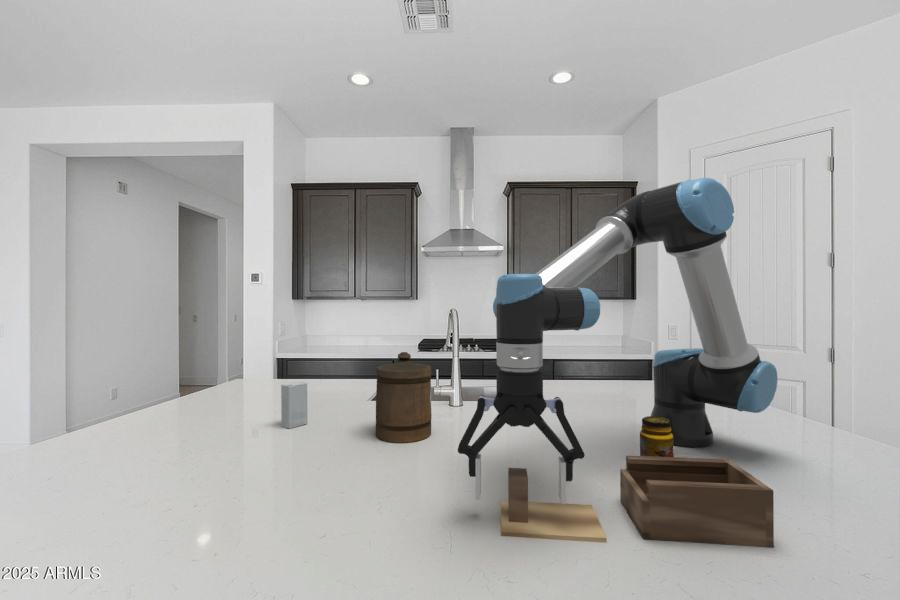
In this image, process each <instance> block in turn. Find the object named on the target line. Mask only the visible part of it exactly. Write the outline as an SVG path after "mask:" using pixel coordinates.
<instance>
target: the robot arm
mask: <svg viewBox="0 0 900 600" xmlns="http://www.w3.org/2000/svg"><path fill="white" fill-rule="evenodd" d="M734 213H735V208H734V204H733V200H732V197H731V194H730V193H729V191H728V190H727V188H726V187H725V186H724V185H723V184H722V183H721V182H719V181H717V180H716V179H715V178H711V177H700V178H694V179H686V180H683V181H680V182H677V183H674V184H673V183H672V184H669V185H666V186H663V187H659V188H656V189H652V190H648V191H647V190H646V191H644V192H640V193H639V194H637V195H634V196H632V197H631V198H629V199H628V200H626V201H625V202H623V203H622V204H619V205H618V206H617V207H616V208H614V209H612V210H611V211H610V212H609V213H607V214H606V215H604V216H603V217H602V218H600V219H599V220H598V221H597V223H596V225H595V228H594V229H593V230H592V231H590V232H589V233H587V234H586V235H585V236H583V238H581V239H580V240H578V241H577V242H576V243H574V244H573V245H572V246H571V247H569V248H568V249H567V250H565V251H564V252H563V253H561V254H560V255H558V256H557V257H556V258H554V259H553V260H552V261H551V262H549V263H548V264H547V265H546V266H544V267H542V268H541V269H539V271H537V272H536V273H511V274H510V273H509V274H502V275H500V276H499V277H498V279H497V281H496V290H495V291H496V293H495V294H496V295H495V297H494V300H493V302H492V303H493V304H492V311H493V314H494V317H495V319H496V321H495V323H496V325H495V326H496V329H495V330H496V342H495V343H496V345H495V346H496V350H495V351H496V365H497V367H499V368H498V369H497V370H496V395H495V397H494V398H491V397H486V396H485V395H483V394H481V395H479V396H478V399H477V403H476V410H475V412H474V413H473V415H472V417H471V420H470V421H469V424H468V426H467V428H466V429H465V432H464V433H463V436H462V437H461V440H460V442H459V444H458V447H457V453H458V454H460V455H465V456H466V457H467V458H468V475H469V477H470V478H471V477H472V478H475V500H481V495H482V454H481V453H480V452H482V450H483V449H484V448H485V447H486V445H487V444H488V443H489V442H490V441H491V439H492V438H493V437H494V436H495V435H496V434H497V433H498V432H499V431H500V430H501V429H502V428H503V426H504V425H506V424H507V425H508V426H510V427H518V426H520V427H523V428H530V426H533V425H535V426H536V427H537V429H538V430H539V431H540V432H541V433H542V434H543V435H544V436H545V438H546V439H547V440H548V441H549V442H550V443H551V445H552V447H554V448H555V450H557V452H558V453H559V454H560V455H561V456H558V499H559V501H560V503H561V504H567V482H572V481H573V479H574V478H573V477H574V476H573V473H574V472H573V469H574V467H573V465H574V462H575V460H578V459H580V460H582V459H584V458H585V456H586V454H585V452H584V450H583V448H582V446H581V445H580V442H579V440H578V438H577V436H576V435H575V432H574V430H573V428H572V426H571V424H570V422H569V421H568V418H567V416H566V414H565V408H564V403H563V400H562V399H561V398H560V397H558V396H555V397H554V398H552V399H545V398H544V372H543V371H542V370H541V369H540V368H542V367H543V366H544V364H543V363H544V361H543V357H544V356H543V352H544V351H543V346H544V345H543V342H544V332H547V331H580V330H587V329H589V328H592V327H593V326H594V325H596V323H597V322H598V321H599V319H600V316H601V301H600V299H599V297H598V296H597V294H596V293H595V292H594V291H593V290H591V289H590V288H587V287H586V288H585V287H579V285H580V284H582V283H583V282H584V281H585V280H586V279H588V278H589V277H590V276H591V275H593V274H594V273H595V272H596V271H598V270H599V269H600V268H601V267H602V266H604V265H605V264H606V263H608V262H609V261H610V260H612V258H615V256H616V255H622V254H625V253H628V251H630V250H631V249H632V248H634V247H637V246H641V245H645V244H648V243H659V242H662V243H663V246H664V250H665V252H666V254H668V255H671V256H673V257H675V260H676V262H677V266H678V269H679V273H680V275H681V279H682V282H683V287H684V289H685V292H686V296H687V299H688V302H689V306H690V310H691V312H692V317H693V319H694V322H695V327H696V330H697V333H698V336H699V339H700V343H701V346H702V348H678V349H677V348H673V349H662V350H658V351H656V353H655V354H654V358H653V359H654V360H653V362H654V363H653V384H654V385H653V387H654V388H653V389H654V390H653V391H654V393H653V397H654V400H653V409H652V411H651V414H650V416H655V417H662V418H666V419H668V420H669V421H670V422H671V434H672V435H673V446H680V447H688V448H690V447H691V448H701V447H702V448H703V447H708V446H712V445H713V444H714V431H713V430H712V429H713V428H712V426H711V424H710V421H709V418H708V415H707V413H706V404H708V405H712V406H718V407H722V408H727V409H732V410H735V411H736V410H737V411H738V412H746V413H753V414H755V413H757V414H759V413H761V412H764V411H765V410H766V409H768V407H769V406H770V405H771V403H772V401H773V400H774V398H775V393H776V392H777V387H778V371H777V368H776V366H775V365H774V364H773V363H771V362H770V361H767V360H761V357H760V353H759V350H758V349H757V347H755V345H752V344H751V343H748V340H747V338H746V334H745V330H744V327H743V323H742V319H741V315H740V312H739V309H738V304H737V301H736V296H735V294H734V290H733V285H732V283H731V279H730V275H729V274H730V273H729V271H728V268H727V263H726V260H725V256H724V253H723V250H722V244H723V243H724V241H725V240H726V239H727V237H728V236H727V235H728V234H727V231H728V230H729V229H730V228H731V226H732V225H733V223H734V219H735V216H734V215H733V214H734ZM490 407H491V408H492V407H493V408H494V409H495V410H496V412H497V413H498V414H497V415H496V416H495V417H494V419H493V420H492V422H491V423H490V424H489V425H488V426H487V427H486V429H485V430H483V432H481V434H480V435H479V437H478V438H477V439H476V440H475V441H474V442H473V443H472V445H469V444H470V442H471V440H472V438H473V436H474V434H475V433H476V430H477V428H478V427H479V424H480V423H481V420H482V418H483V416H484V413H485V412H488V411H489V410H490ZM547 408H548V409H549V410H550V411H551V413H552V414H555V415H556V417H557V419H558V421H559V423H560V425H561V427H562V429H563V431H564V433H565V435H566V437H567V439H568V441H569V442H570V444H571V446H572V448H571V449H569V448H568V447H567V446H566V445H565V443H564V442H563V441H562V440H561V439H560V438H559V436H558V435H557V433H555V432H554V430H552V428H551V427H550V426H549V425H548V424H547V422H546V421H545V420H544V418H543V417H542V414H543V412H544V411H545V410H546V409H547Z"/></svg>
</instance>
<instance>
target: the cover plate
mask: <svg viewBox="0 0 900 600" xmlns="http://www.w3.org/2000/svg"><path fill="white" fill-rule="evenodd" d="M507 469H508V470H507V473H508V475H507V476H508V477H507V478H508V480H507V482H508V483H507V485H508V487H507V489H508V493H507V494H508V495H507V496H508V498H507V500H503V499H502V500H501V501H500V504H501V505H500V507H501V508H500V509H501V510H500V513H501V515H500V517H501V518H500V520H501V521H500V523H501V524H500V525H501V526H500V527H501V533H500V534H501V537H511V538H513V537H514V538H525V539H526V538H529V539H545V540H560V541H561V540H562V541H574V542H575V541H576V542H594V543H605V544H606V543H607V542H608V541H607V539H608V538H607V536H606V533H605V531H604V529H603V527H602V525H601V523H600V520H599V518H598V516H597V514H596V511H595V509H594V507H593V505H592V504H582V503H581V504H580V503H566V504H561V502H560V503H559V502H538V501H529V477H528V471H527V468H526V467H524V468H521V467H507Z"/></svg>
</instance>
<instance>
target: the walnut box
mask: <svg viewBox="0 0 900 600" xmlns="http://www.w3.org/2000/svg"><path fill="white" fill-rule="evenodd" d="M619 473H620V475H619V476H620V479H619V481H620V484H619V485H620V488H619V489H620V492H619V493H620V496H619V497H620V499H619V500H620V503H621V505H622V506H623V508H624V510H625V511H626V513H627V514H628V517H629V518H630V520H631V521H632V523H633V525H634V526H635V528H636V530H637V531H638V533H639V535H640V536H641V538H642V539H643V540H649V541H650V540H651V541H664V542H665V541H669V542H683V543H699V544H700V543H701V544H717V545H732V546H747V547H762V548H765V547H766V548H774V547H775V546H774V544H775V542H774V541H775V539H774V537H775V536H774V535H775V534H774V533H775V532H774V531H775V530H774V529H775V528H774V521H775V520H774V519H775V517H774V515H775V513H774V510H775V508H774V507H775V506H774V490H773V489H772V488H771V487H769V486H768V485H766V484H765V483H764V482H763V481H761V480H760V479H757V478H756V477H755V476H753V475H752V474H751V473H749V472H748V471H746V470H745V469H743V468H742V467H740V466H739V465H737V463H735V462H733V461H732V460H730V459H726V458H725V459H724V458H701V457H698V458H697V457H677V456H673V457H656V456H640V455H629V454H628V455H627V454H626V455H625V469H624V468H620V470H619Z"/></svg>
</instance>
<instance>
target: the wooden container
mask: <svg viewBox="0 0 900 600" xmlns="http://www.w3.org/2000/svg"><path fill="white" fill-rule="evenodd" d="M411 358H412V356H411V354H410V353H408V352H407V351H404V352H403V351H402V352H400V353H398V354H397V359H398V361H397V362H394V363H387V364H386V363H385V364H380V365H379V366H377V367H376V395H375V396H376V397H375V436H376V438H377V439H378V440H381V441H384V442H387V443H388V442H389V443H395V444H396V443H397V444H398V443H399V444H404V443H405V444H407V443H414V442H419V441H422V440H425V439H427V438H429V437H430V436H431V434H432V381H431V380H432V366H431V365H428V364H426V363H419V362H417V363H416V362H412V361H411V360H410V359H411Z"/></svg>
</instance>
